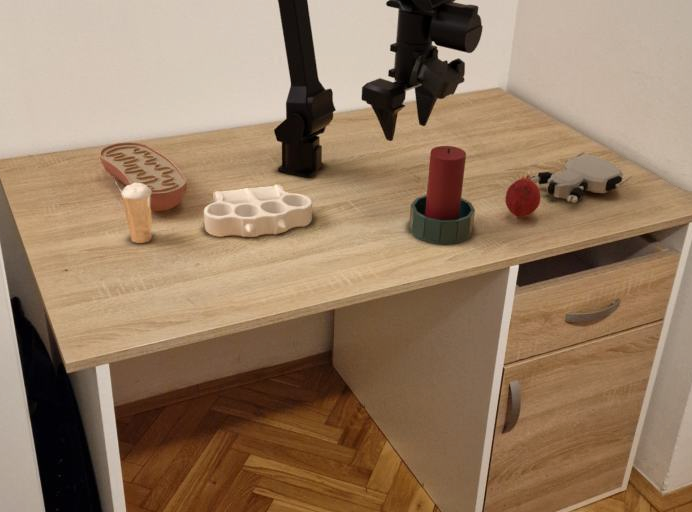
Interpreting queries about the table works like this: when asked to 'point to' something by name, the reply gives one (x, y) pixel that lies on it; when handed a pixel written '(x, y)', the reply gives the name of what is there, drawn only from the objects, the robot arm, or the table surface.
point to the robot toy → (581, 177)
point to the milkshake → (138, 211)
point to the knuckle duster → (256, 212)
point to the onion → (523, 197)
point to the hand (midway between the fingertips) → (406, 132)
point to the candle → (445, 183)
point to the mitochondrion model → (145, 172)
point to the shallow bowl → (441, 223)
